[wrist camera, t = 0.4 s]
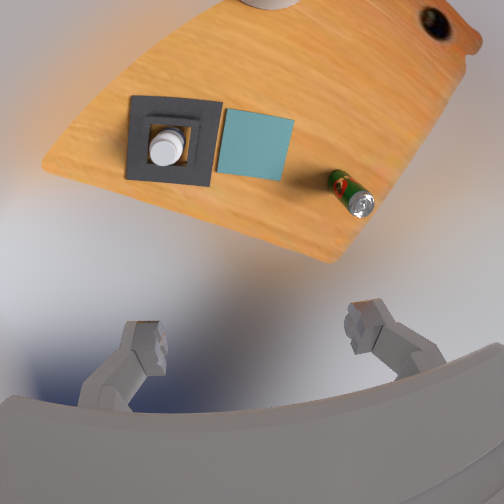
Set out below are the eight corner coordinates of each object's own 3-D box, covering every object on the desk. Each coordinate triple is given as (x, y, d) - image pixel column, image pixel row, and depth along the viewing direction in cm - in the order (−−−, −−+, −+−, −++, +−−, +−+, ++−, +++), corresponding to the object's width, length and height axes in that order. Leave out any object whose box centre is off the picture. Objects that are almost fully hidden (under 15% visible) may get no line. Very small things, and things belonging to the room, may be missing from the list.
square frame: (133, 95, 42) (126, 96, 39) (222, 102, 46) (223, 104, 42) (127, 178, 51) (121, 186, 47) (209, 185, 54) (209, 193, 51)
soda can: (328, 195, 58) (351, 222, 48) (324, 172, 55) (348, 196, 45) (350, 189, 58) (377, 215, 48) (347, 166, 55) (375, 189, 45)
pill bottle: (169, 160, 50) (160, 177, 42) (151, 139, 47) (138, 152, 39) (192, 142, 49) (187, 155, 41) (174, 120, 46) (165, 129, 38)
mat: (227, 108, 46) (227, 108, 46) (293, 120, 49) (294, 120, 48) (217, 171, 53) (216, 172, 52) (279, 180, 55) (280, 181, 55)
